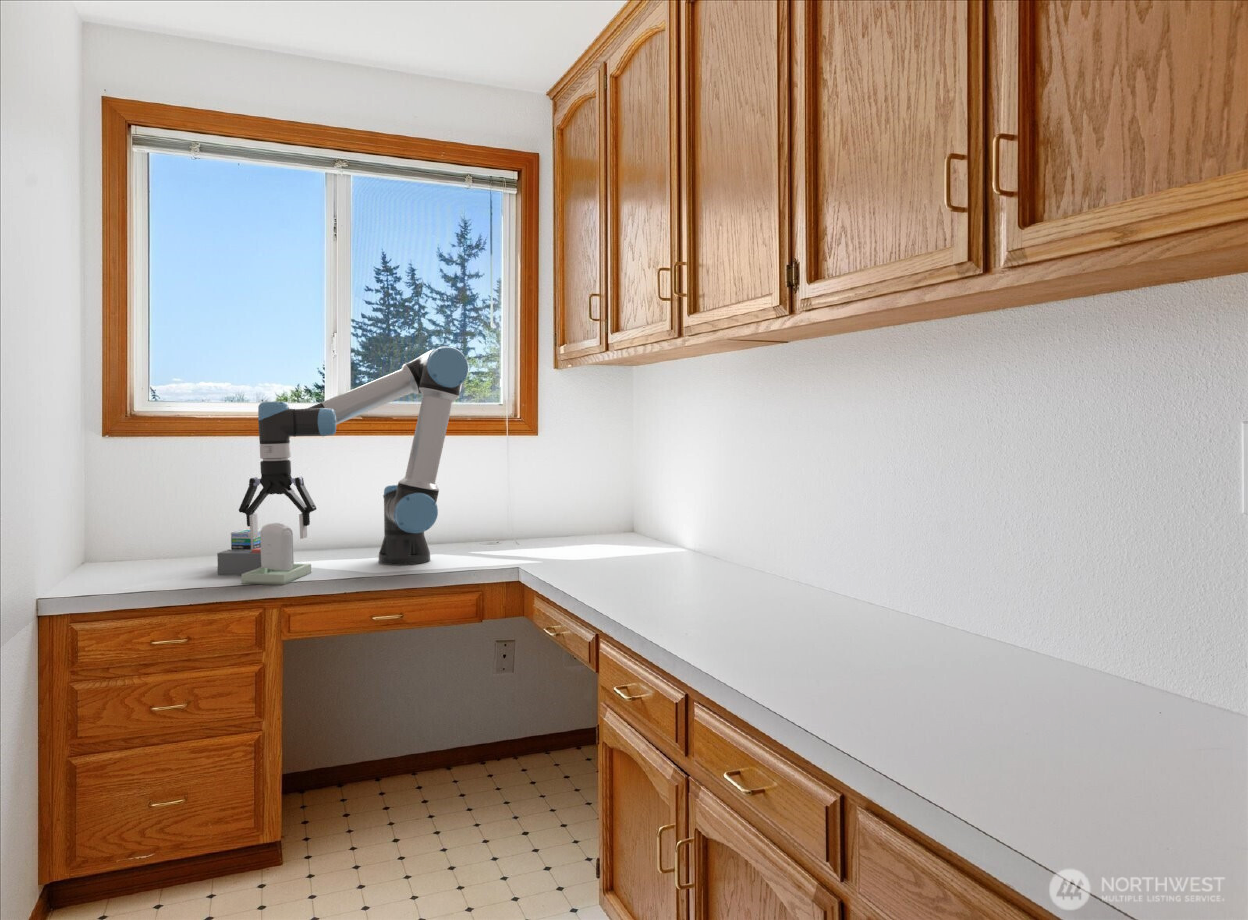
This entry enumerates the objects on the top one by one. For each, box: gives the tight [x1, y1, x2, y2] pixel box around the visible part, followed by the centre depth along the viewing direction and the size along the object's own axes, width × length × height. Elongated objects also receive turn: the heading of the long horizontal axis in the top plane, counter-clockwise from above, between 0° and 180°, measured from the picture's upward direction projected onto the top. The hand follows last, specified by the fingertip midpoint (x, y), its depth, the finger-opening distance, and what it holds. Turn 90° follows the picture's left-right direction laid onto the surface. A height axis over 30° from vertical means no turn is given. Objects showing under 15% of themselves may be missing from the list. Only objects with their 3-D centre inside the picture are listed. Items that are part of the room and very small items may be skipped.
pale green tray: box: [240, 563, 312, 586], centre depth 226 cm, size 11×16×2 cm
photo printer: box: [260, 522, 295, 571], centre depth 225 cm, size 10×4×12 cm, turn 57°
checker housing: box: [216, 549, 270, 576], centre depth 233 cm, size 14×6×6 cm, turn 87°
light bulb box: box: [230, 527, 262, 550], centre depth 242 cm, size 11×7×11 cm, turn 179°
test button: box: [252, 548, 261, 553], centre depth 232 cm, size 3×3×5 cm
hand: (279, 538), depth 225 cm, fingers open, 13 cm apart
